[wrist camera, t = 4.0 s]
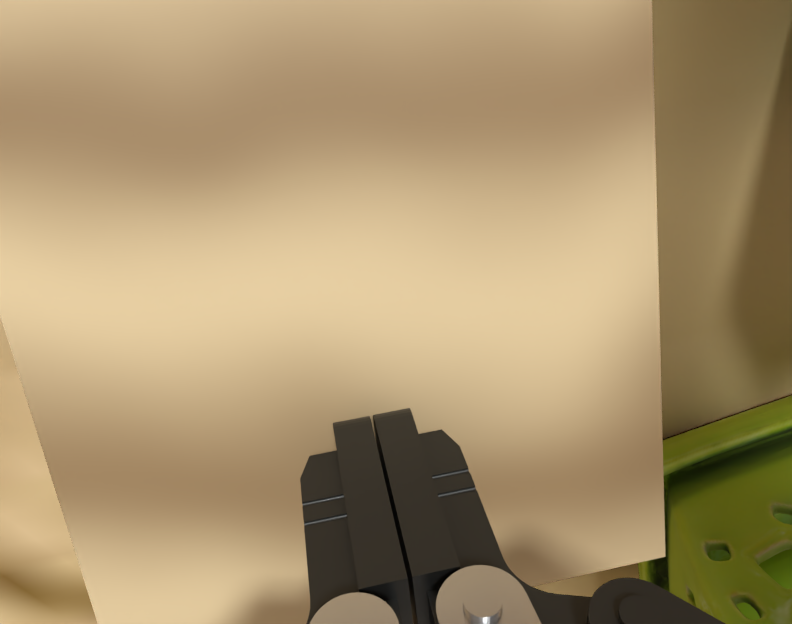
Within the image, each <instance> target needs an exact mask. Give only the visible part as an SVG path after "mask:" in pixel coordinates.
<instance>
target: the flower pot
mask: <svg viewBox="0 0 792 624" xmlns="http://www.w3.org/2000/svg"><path fill="white" fill-rule="evenodd" d="M663 475H664V516H665V557H662V558H657V559H653V560H648V561H644V562H639V563H638V568H639V579H641V580H645V581H648V582H651V583H653V584H655V585H657V586H659V587H661V588H663V589H665V590H666V591H668V592H670V593H672V594H674V595H675V596H677V597H679V598H681V599H683V600H684V601H686V602H688V603H690V604H691V605H693V606H695V607H697V608H699V609H700V610H702V611H704V612H706V613H708V614H709V615H711V616H713V617H715V618H716V619H718V620H720V621H722V622H724V623H725V624H792V395H791V396H788V397H786V398H783V399H780V400H777V401H774V402H771V403H768V404H765V405H762V406H759V407H757V408H754V409H751V410H748V411H745V412H742V413H739V414H736V415H733V416H731V417H728V418H725V419H722V420H719V421H716V422H713V423H711V424H708V425H705V426H702V427H699V428H696V429H694V430H691V431H688V432H685V433H682V434H679V435H677V436H674V437H671V438H668V439H665V440H663Z"/></svg>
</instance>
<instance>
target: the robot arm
mask: <svg viewBox="0 0 792 624" xmlns="http://www.w3.org/2000/svg"><path fill="white" fill-rule="evenodd" d="M373 423H374V430H375V436H374V431H373V427H372V423H371V419H370V416H366V417H361V418H355V419H350V420H345V421H340V422H335V423H333V429H334V436H335V442H336V448H337V450H336V451H331V452H326V453H321V454H316V455H311V456H309V458H308V461H307V463H306V466H305V468H304V470H303V473H302V475H301V478H300V484H301V496H302V505H303V507H302V508H303V520H304V532H305V544H306V556H307V568H308V580H309V592H310V612H309V617H308V620H307V623H306V624H725V623H724V622H722V621H720V620H718V619H716V618H715V617H713V616H711V615H709V614H708V613H706V612H704V611H702V610H700V609H699V608H697V607H695V606H693V605H691V604H690V603H688V602H686V601H684V600H683V599H681V598H679V597H677V596H675V595H674V594H672V593H670V592H668V591H666V590H665V589H663V588H661V587H659V586H657V585H655V584H653V583H651V582H648V581H645V580H641V579H636V578H619V579H615V580H611V581H609V582H607V583H605V584H603V585H602V586H601V587H599V588H598V589H597V590H596V592H595V593H594V594H593V596H592V597H583V596H572V595H561V594H553V593H548V592H544V591H541V590H538V589H536V588H533V587H531V586H529V585H528V584H526V583H525V582H523V581H522V580H520V579H519V578H518V577H517V576H516V575H515V574H514V573H513V572H512V571H511V570H510V568H509V567H508V566H507V564H506V562H505V560H504V558H503V556H502V553H501V551H500V548H499V546H498V543H497V541H496V538H495V535H494V533H493V530H492V528H491V525H490V523H489V520H488V517H487V515H486V512H485V510H484V507H483V504H482V502H481V499H480V497H479V494H478V492H477V491H476V487H475V484H474V481H473V479H472V476H471V474H470V473H469V469H468V466H467V463H466V461H465V458H464V455H463V453H462V450H461V448H460V446H459V445H458V444H457V443H456V442H455V441H454V440H453V439H452V438H451V437H450V436H448V435H447V434H446V433H445V432H444V431H443V430H442V429H441V430H436V431H431V432H426V433H421V434H418V430H417V427H416V424H415V421H414V418H413V415H412V412H411V409H410V408H406V409H401V410H396V411H391V412H385V413H380V414H375V415H373ZM375 437H376V440H375Z"/></svg>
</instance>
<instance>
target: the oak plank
mask: <svg viewBox="0 0 792 624" xmlns="http://www.w3.org/2000/svg"><path fill="white" fill-rule="evenodd" d="M0 317H1V320H2V323H3V326H4V330H5V333H6V336H7V339H8V342H9V345H10V348H11V352H12V355H13V358H14V361H15V364H16V367H17V371H18V374H19V377H20V380H21V383H22V386H23V389H24V393H25V396H26V399H27V402H28V405H29V408H30V411H31V415H32V418H33V421H34V424H35V427H36V430H37V434H38V437H39V440H40V443H41V446H42V449H43V452H44V456H45V459H46V462H47V465H48V468H49V471H50V475H51V478H52V481H53V484H54V487H55V490H56V493H57V497H58V500H59V503H60V506H61V509H62V512H63V515H64V519H65V522H66V525H67V528H68V531H69V534H70V538H71V541H72V544H73V547H74V550H75V553H76V556H77V560H78V563H79V566H80V569H81V572H82V575H83V578H84V582H85V585H86V588H87V591H88V594H89V597H90V601H91V604H92V607H93V610H94V613H95V616H96V619H97V623H98V624H306V623H307V620H308V617H309V612H310V592H309V580H308V568H307V556H306V544H305V532H304V520H303V508H302V507H303V505H302V496H301V484H300V478H301V475H302V473H303V470H304V468H305V466H306V463H307V461H308V458H309V456H311V455H316V454H321V453H326V452H331V451H336V450H337V448H336V442H335V436H334V429H333V423H335V422H340V421H345V420H350V419H355V418H361V417H366V416H370V419H371V423H372V427H373V431H374V436H375V430H374V423H373V415H375V414H380V413H385V412H391V411H396V410H401V409H406V408H410V409H411V412H412V415H413V418H414V421H415V424H416V427H417V430H418V434H421V433H426V432H431V431H436V430H441V429H442V430H443V431H444V432H445V433H446V434H447V435H448V436H450V437H451V438H452V439H453V440H454V441H455V442H456V443H457V444H458V445H459V446H460V448H461V450H462V453H463V455H464V458H465V461H466V463H467V466H468V469H469V473H470V474H471V476H472V479H473V481H474V484H475V487H476V491H477V492H478V494H479V497H480V499H481V502H482V504H483V507H484V510H485V512H486V515H487V517H488V520H489V523H490V525H491V528H492V530H493V533H494V535H495V538H496V541H497V543H498V546H499V548H500V551H501V553H502V556H503V558H504V560H505V562H506V564H507V566H508V567H509V568H510V570H511V571H512V572H513V573H514V574H515V575H516V576H517V577H518V578H519V579H520V580H522V581H523V582H525V583H526V584H528V585H529V586H531V587H532V586H537V585H541V584H546V583H550V582H555V581H559V580H564V579H568V578H572V577H577V576H581V575H586V574H590V573H595V572H599V571H604V570H608V569H613V568H617V567H622V566H626V565H631V564H635V563H639V562H644V561H648V560H653V559H657V558H662V557H665V516H664V475H663V434H662V393H661V352H660V310H659V269H658V228H657V187H656V146H655V105H654V63H653V22H652V0H0ZM375 440H376V437H375Z"/></svg>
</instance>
